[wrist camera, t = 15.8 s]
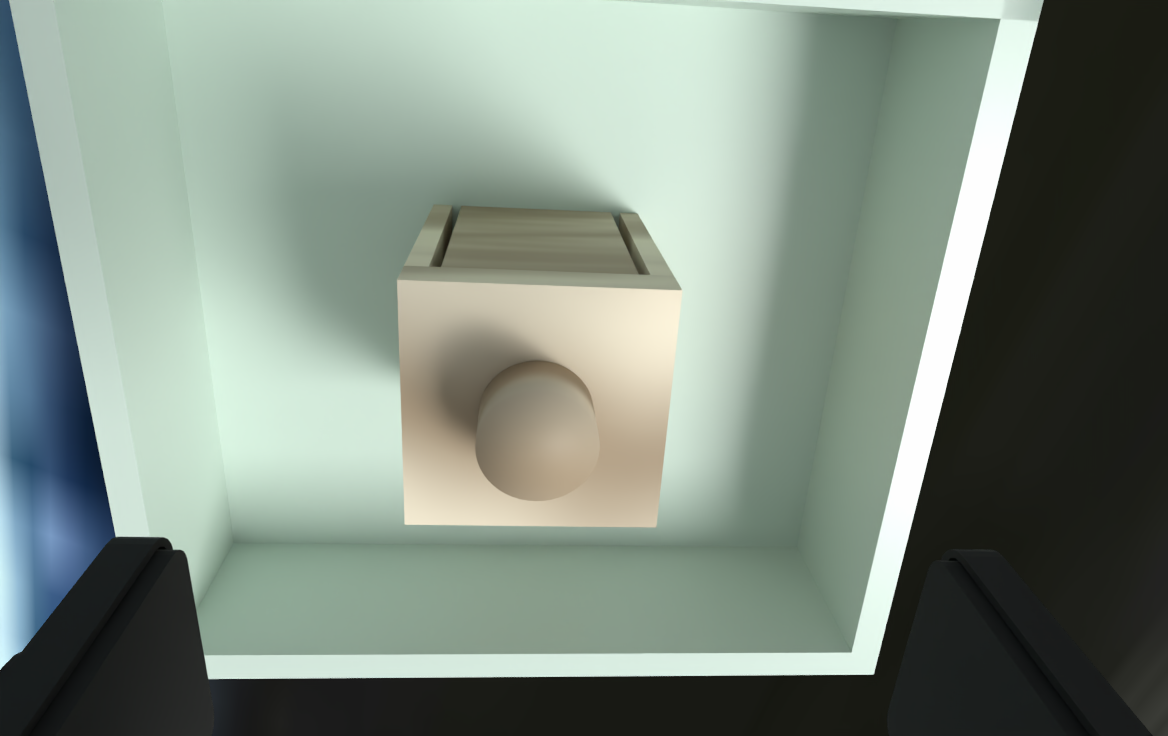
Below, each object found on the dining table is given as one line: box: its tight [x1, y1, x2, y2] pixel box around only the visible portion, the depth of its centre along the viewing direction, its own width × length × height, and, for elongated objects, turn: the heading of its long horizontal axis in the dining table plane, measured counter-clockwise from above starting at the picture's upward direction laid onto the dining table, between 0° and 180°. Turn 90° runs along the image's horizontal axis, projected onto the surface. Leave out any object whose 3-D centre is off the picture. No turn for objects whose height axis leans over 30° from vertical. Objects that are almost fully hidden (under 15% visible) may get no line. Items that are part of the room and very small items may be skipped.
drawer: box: [397, 204, 683, 528], centre depth 20 cm, size 6×6×8 cm
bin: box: [9, 0, 1043, 679], centre depth 22 cm, size 20×18×6 cm
